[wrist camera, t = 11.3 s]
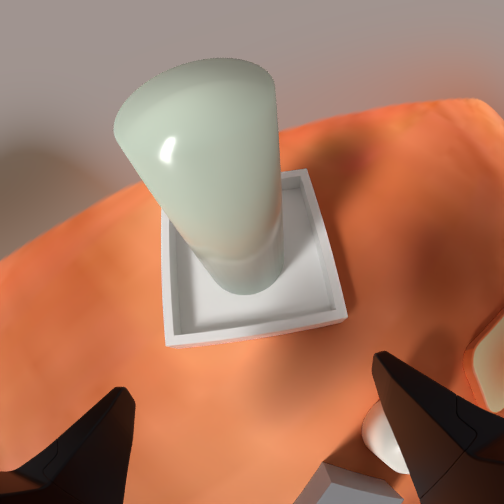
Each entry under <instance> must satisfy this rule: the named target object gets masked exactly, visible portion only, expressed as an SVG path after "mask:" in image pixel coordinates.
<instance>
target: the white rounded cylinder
mask: <svg viewBox="0 0 504 504" xmlns="http://www.w3.org/2000/svg"><path fill="white" fill-rule="evenodd" d="M362 438H363V441H364V443H365V445H366V446H367V448H368V449H369V450H371V451H372V452H373V453H374V454H375V455H376V456H377V457H379V458H380V459H381V460H382V461H383V462H384V463H386V464H387V465H388V466H389V467H390V468H392V469H393V470H394V471H396V472H398V473H402V474H410V473H409V471H408V468H407V466H406V463H405V461H404V458H403V456H402V453H401V451H400V448H399V446H398V444H397V441H396V439H395V436H394V434H393V432H392V429H391V427H390V425H389V422H388V420H387V418H386V416H385V413H384V411H383V408H382V405H381V401H378V402H377V403H376V404H375V405H373V407H372V408H371V409H370V410H369V411H368V413H367V415H366V416H365V419H364V421H363V425H362Z"/></svg>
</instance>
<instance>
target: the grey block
mask: <svg viewBox="0 0 504 504" xmlns="http://www.w3.org/2000/svg"><path fill="white" fill-rule="evenodd" d="M403 500H404V499H403V498H402V497H401V496H400V495H399V494H398V493H397V492H396V491H395V490H394V489H393V488H392V487H391V486H390V485H389V484H388V483H387V482H386V481H385V480H383V479H378V478H374V477H371V476H367V475H363V474H360V473H356V472H353V471H349V470H346V469H343V468H340V467H337V466H334V465H331V464H328V463H325V462H322V463H321V465H320V466H319V468H318V469H317V471H316V472H315V474H314V475H313V477H312V478H311V480H310V481H309V482H308V484H307V485H306V487H305V488H304V490H303V491H302V492H301V494H300V495H299V496H298V498H297V499H296V500H295V502H294V503H293V504H401V503H402V502H403Z"/></svg>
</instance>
